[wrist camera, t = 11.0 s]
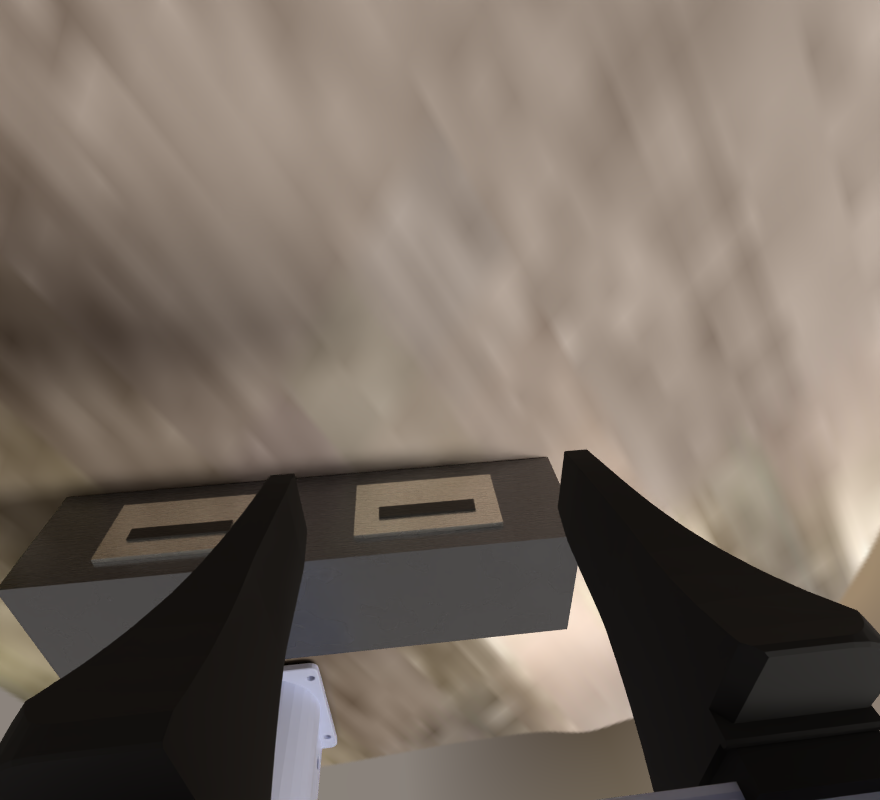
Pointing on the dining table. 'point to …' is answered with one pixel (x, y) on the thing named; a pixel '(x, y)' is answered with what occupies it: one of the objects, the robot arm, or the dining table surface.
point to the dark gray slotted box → (316, 559)
